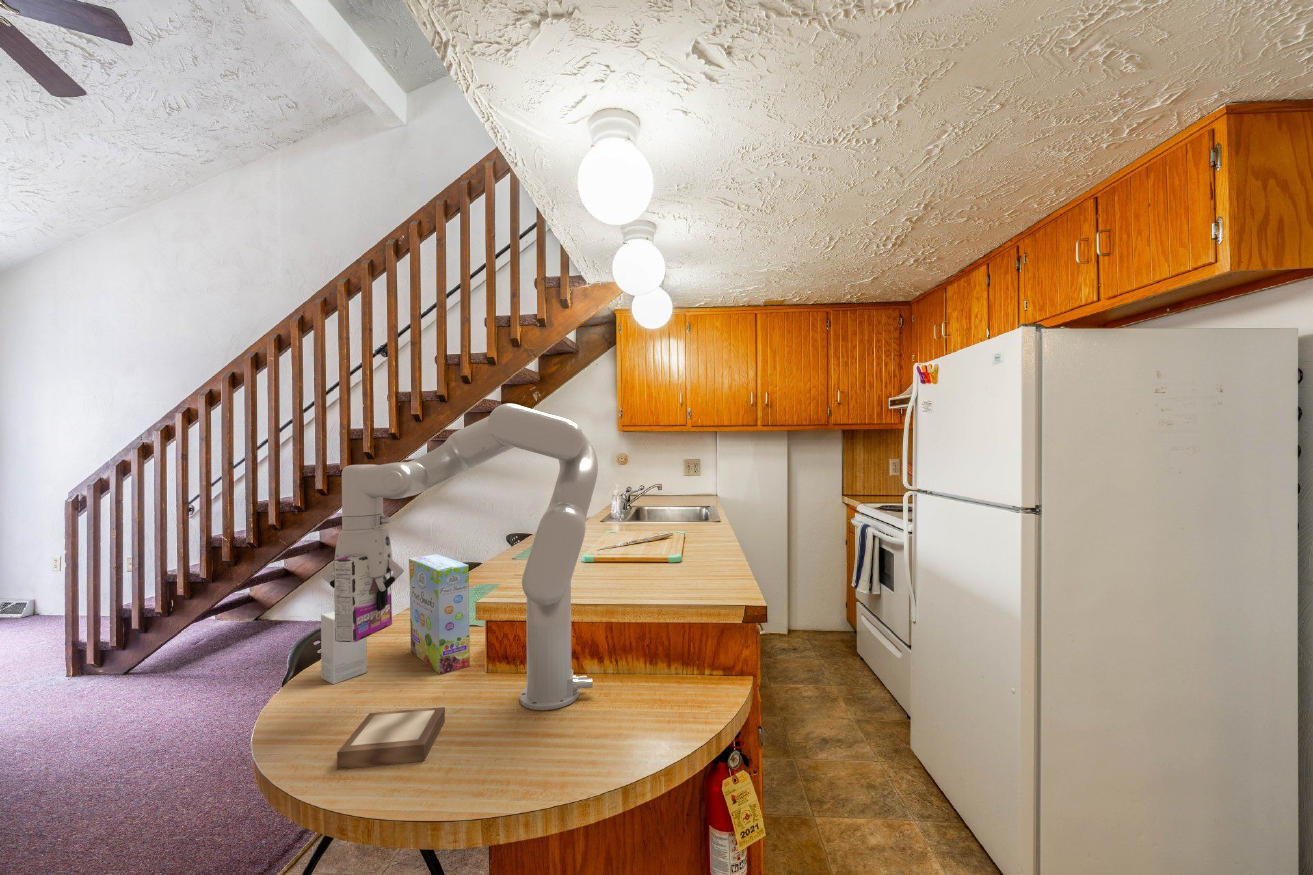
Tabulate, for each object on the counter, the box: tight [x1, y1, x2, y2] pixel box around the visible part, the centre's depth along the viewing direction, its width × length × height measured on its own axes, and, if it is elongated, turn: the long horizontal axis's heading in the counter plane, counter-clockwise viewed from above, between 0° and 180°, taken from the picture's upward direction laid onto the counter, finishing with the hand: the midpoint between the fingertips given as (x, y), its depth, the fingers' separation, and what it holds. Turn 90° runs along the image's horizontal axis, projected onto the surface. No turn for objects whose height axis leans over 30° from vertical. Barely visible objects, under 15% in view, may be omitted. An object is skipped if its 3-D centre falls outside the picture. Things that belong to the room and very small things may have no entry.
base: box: [336, 706, 446, 770], centre depth 98 cm, size 14×14×3 cm
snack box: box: [408, 553, 471, 675], centre depth 139 cm, size 22×9×26 cm, turn 43°
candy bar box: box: [333, 556, 393, 642], centre depth 111 cm, size 11×5×16 cm, turn 169°
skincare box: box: [320, 610, 368, 685], centre depth 129 cm, size 8×7×16 cm
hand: (364, 609), depth 111 cm, fingers closed on candy bar box, 6 cm apart
